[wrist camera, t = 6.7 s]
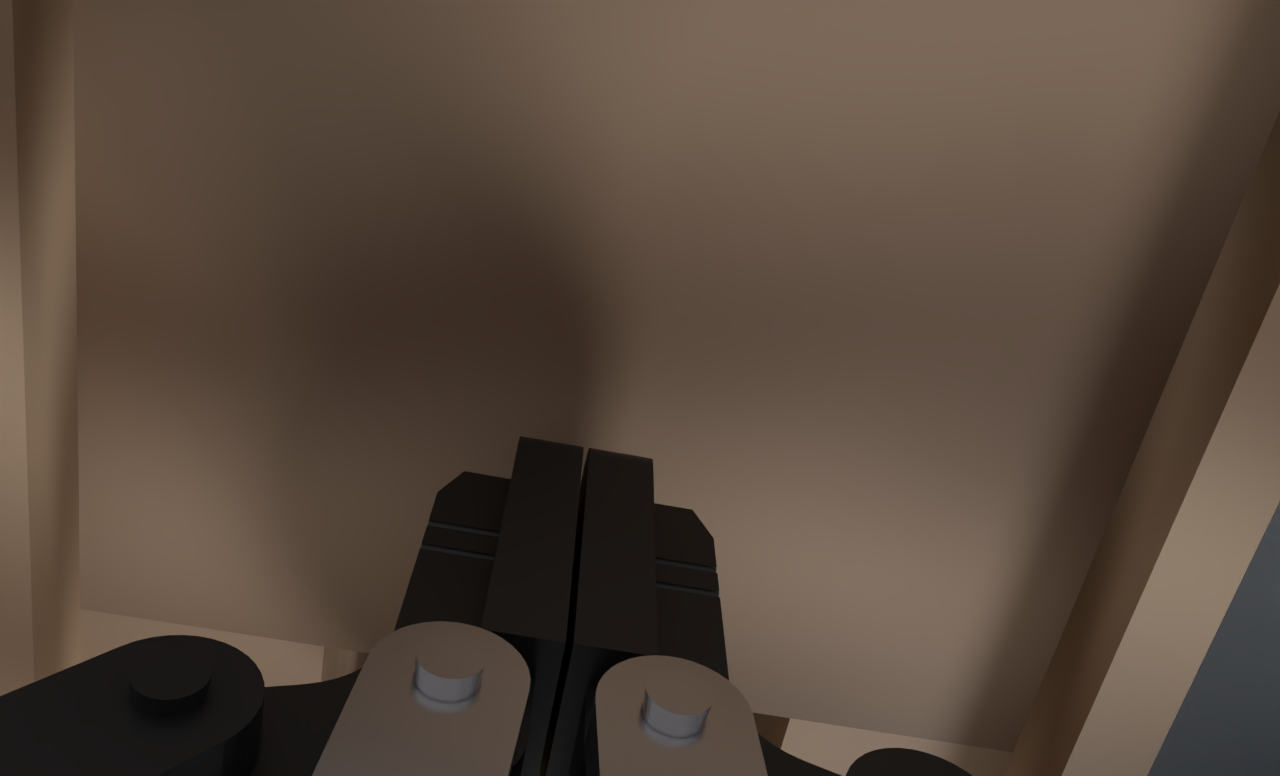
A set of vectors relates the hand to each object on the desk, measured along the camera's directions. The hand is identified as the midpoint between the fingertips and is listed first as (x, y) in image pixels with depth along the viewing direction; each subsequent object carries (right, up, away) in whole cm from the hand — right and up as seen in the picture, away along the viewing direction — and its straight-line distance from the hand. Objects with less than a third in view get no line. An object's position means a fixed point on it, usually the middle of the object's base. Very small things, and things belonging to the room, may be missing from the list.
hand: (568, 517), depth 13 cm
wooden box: (0, +1, +6) cm, 6 cm away
